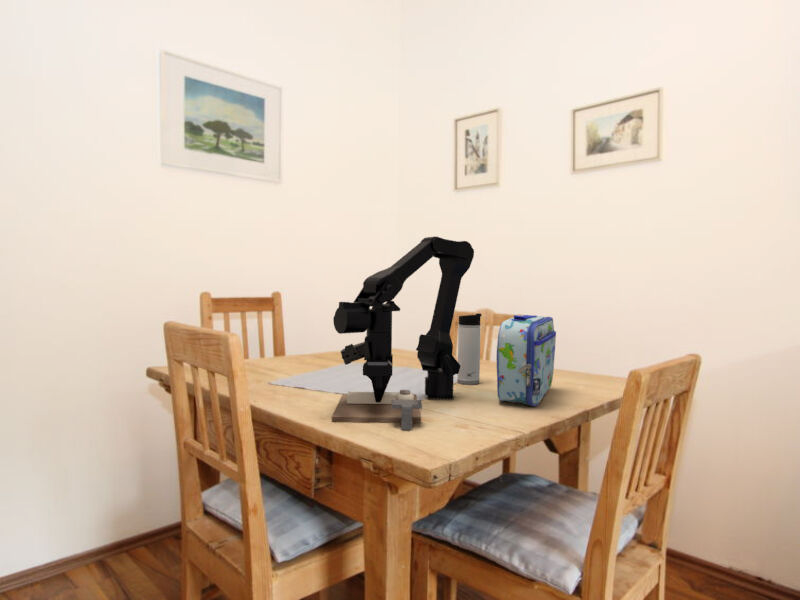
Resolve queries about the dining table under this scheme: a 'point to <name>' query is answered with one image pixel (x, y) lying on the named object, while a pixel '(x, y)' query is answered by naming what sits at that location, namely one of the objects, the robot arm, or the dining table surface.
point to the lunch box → (525, 358)
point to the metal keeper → (406, 411)
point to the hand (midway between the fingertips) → (378, 400)
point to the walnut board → (371, 412)
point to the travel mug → (469, 349)
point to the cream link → (370, 398)
